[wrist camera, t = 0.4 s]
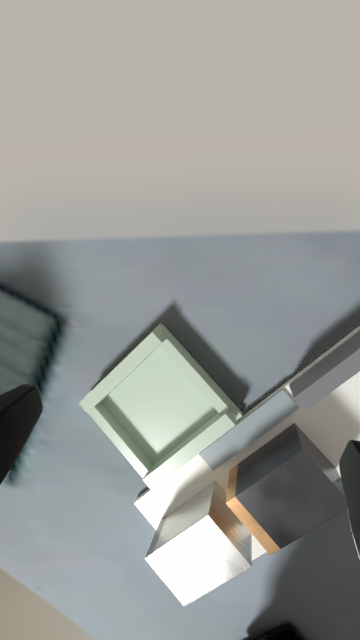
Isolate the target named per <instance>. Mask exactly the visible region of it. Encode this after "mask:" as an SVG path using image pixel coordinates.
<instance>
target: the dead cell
mask: <svg viewBox="0 0 360 640" xmlns="http://www.w3.org/2000/svg"><path fill="white" fill-rule="evenodd" d="M226 496H227V493H226V492H225V491H224V490H223V489H222V488H221V486H220V485H219V484H218V483H217V482H216V481H213V482H212V483H211V484H209V485H208V486H206V487H205V488H204V489H202V490H201V491H200V492H198V493H197V494H195V495H194V496H193V497H191V498H190V499H189V500H187V501H186V502H184V503H183V504H182V505H180V506H179V507H177V508H176V509H175V510H173V511H172V512H171V513H169V514H168V515H166V516H165V517H164V518H162V519H161V520H160V523H159V525H158V528H157V530H156V533H155V535H154V538H153V540H152V543H151V545H150V548H149V550H148V553H147V555H146V558H145V559H146V560H147V562H148V563H149V564H150V565H151V567H152V568H153V569H154V570H155V572H156V573H157V574H158V575H159V576H160V578H161V579H162V580H163V581H164V583H165V584H166V585H167V586H168V588H169V589H170V590H171V591H172V593H173V594H174V595H175V596H176V597H177V599H178V600H179V601H180V602H181V604H182V605H183V606H186V605H188V604H189V603H191V602H193V601H194V600H196V599H198V598H199V597H201V596H203V595H204V594H206V593H208V592H209V591H211V590H213V589H214V588H216V587H218V586H219V585H221V584H223V583H225V582H226V581H228V580H230V579H231V578H233V577H235V576H236V575H238V574H240V573H241V572H243V571H245V570H246V569H248V568H250V567H251V566H252V533H251V532H250V531H249V530H248V529H247V528H246V527H245V525H244V524H243V523H242V522H241V521H240V520H239V518H238V517H237V516H236V515H235V514H234V513H233V511H232V510H231V509H230V508H229V507H228V506H227V504H226Z"/></svg>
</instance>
